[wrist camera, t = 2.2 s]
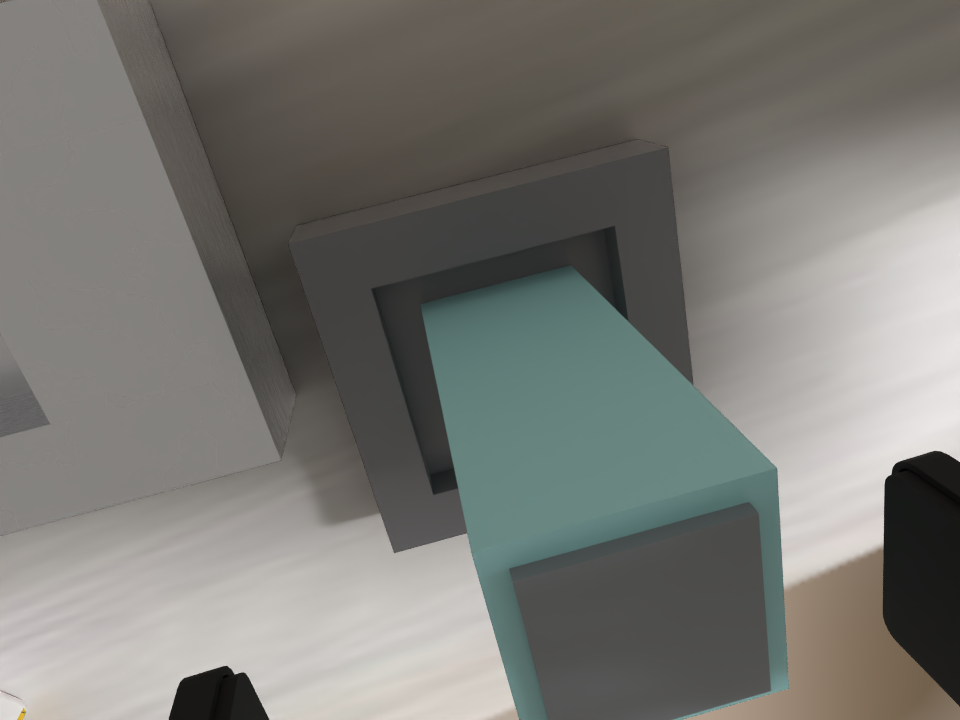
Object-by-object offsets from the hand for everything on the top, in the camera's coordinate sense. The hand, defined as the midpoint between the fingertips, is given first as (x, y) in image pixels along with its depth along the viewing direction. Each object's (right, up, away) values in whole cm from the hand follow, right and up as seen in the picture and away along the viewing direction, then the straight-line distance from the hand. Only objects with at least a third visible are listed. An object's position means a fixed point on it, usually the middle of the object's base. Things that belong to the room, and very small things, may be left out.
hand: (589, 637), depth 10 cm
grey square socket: (-1, +4, +10) cm, 11 cm away
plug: (-1, +4, +9) cm, 10 cm away
